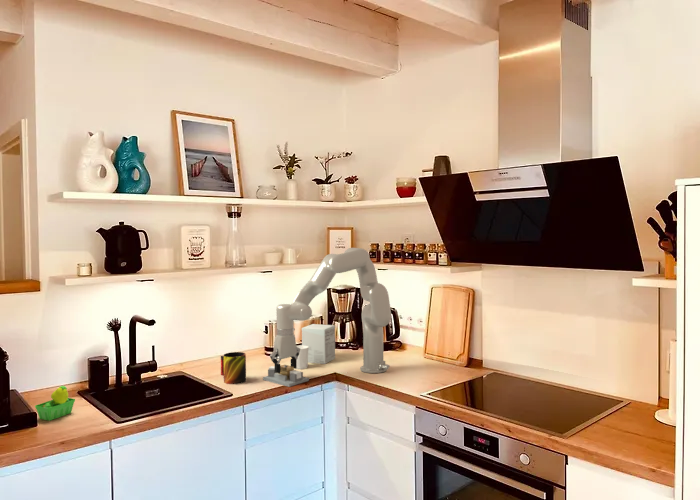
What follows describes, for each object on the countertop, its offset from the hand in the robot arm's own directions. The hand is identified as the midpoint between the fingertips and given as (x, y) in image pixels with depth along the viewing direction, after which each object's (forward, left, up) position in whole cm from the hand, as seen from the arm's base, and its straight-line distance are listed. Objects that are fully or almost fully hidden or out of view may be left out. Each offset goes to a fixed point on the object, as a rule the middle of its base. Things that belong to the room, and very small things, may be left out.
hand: (285, 370), depth 237 cm
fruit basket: (+31, +84, -5) cm, 90 cm away
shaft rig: (0, 0, -4) cm, 4 cm away
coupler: (0, 0, -3) cm, 3 cm away
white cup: (+11, -20, -5) cm, 23 cm away
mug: (+18, +16, -5) cm, 25 cm away
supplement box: (+14, -36, -5) cm, 39 cm away
